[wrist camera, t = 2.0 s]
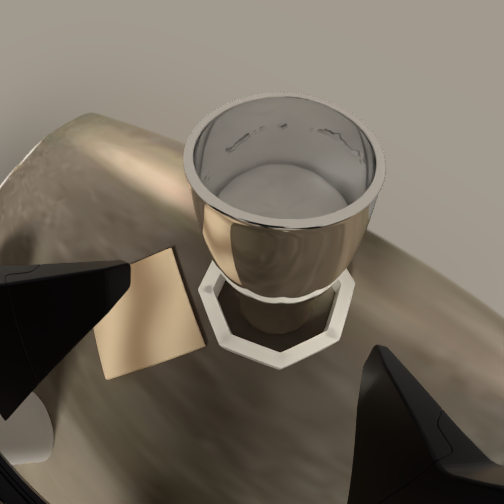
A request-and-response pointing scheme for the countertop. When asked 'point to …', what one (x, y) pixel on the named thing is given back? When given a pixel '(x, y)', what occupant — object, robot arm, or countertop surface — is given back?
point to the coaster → (148, 319)
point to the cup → (27, 433)
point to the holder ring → (261, 354)
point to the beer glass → (282, 199)
